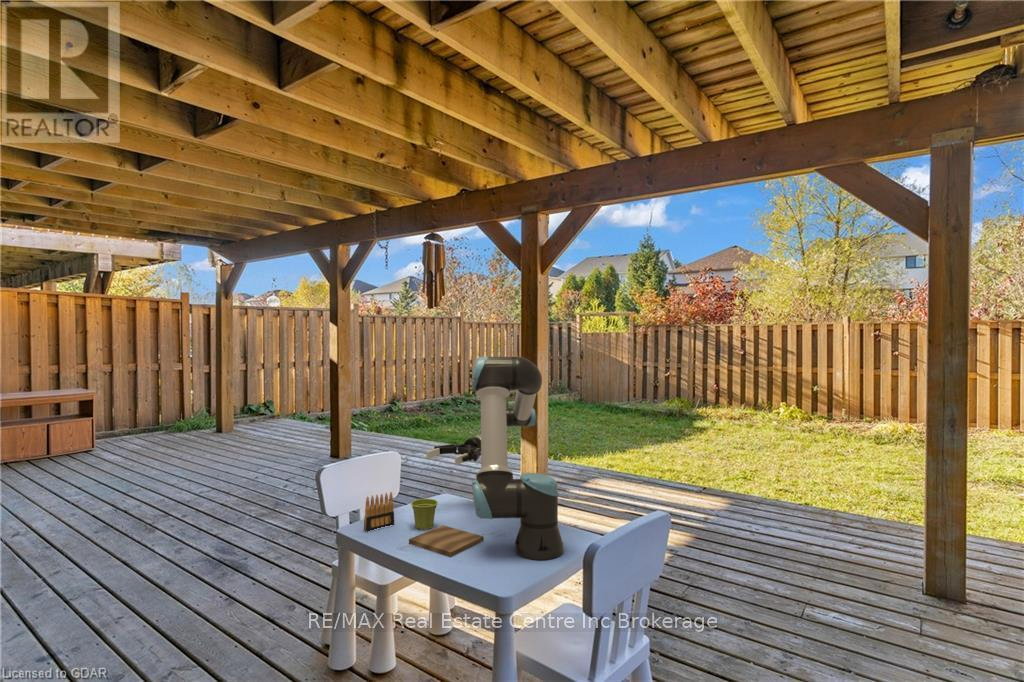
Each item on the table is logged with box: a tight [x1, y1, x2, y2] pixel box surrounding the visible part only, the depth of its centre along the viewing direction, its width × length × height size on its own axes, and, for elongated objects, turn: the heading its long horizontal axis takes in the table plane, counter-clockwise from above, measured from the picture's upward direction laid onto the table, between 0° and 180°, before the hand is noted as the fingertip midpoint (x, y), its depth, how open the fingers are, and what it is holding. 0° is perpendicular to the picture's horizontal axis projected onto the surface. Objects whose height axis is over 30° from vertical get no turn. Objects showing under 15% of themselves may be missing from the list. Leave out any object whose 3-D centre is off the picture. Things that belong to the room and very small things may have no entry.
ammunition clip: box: [363, 491, 395, 532], centre depth 182 cm, size 11×2×12 cm, turn 130°
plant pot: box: [410, 498, 439, 531], centre depth 183 cm, size 9×9×9 cm
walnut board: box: [408, 525, 485, 558], centre depth 169 cm, size 18×16×2 cm
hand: (441, 458), depth 189 cm, fingers open, 13 cm apart
